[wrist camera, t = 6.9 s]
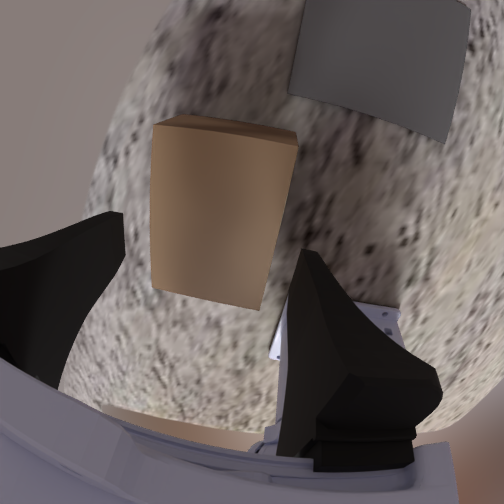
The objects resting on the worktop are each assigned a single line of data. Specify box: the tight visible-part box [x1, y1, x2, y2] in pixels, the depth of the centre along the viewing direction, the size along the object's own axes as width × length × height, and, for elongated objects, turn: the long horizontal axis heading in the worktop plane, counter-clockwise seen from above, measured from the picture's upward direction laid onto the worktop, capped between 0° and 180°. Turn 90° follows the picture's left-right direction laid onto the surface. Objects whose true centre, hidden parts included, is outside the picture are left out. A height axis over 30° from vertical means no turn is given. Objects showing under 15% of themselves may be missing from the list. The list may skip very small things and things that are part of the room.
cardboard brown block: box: [150, 114, 299, 311], centre depth 14 cm, size 6×8×4 cm
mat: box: [288, 0, 471, 144], centre depth 12 cm, size 10×10×1 cm
